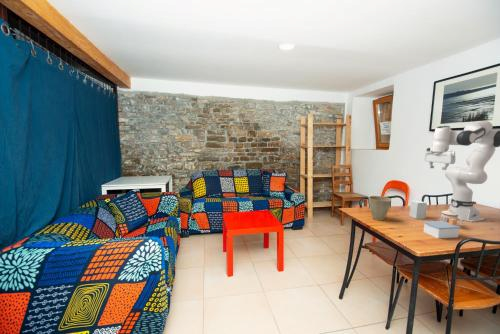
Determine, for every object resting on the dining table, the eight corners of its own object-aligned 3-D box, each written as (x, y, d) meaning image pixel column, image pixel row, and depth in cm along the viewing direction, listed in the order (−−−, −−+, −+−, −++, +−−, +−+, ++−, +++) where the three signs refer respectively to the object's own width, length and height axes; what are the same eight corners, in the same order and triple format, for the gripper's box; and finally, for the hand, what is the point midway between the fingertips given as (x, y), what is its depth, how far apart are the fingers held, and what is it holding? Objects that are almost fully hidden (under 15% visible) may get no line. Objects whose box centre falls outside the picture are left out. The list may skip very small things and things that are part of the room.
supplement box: (425, 219, 173) (427, 202, 171) (415, 218, 173) (417, 202, 171) (418, 215, 180) (419, 200, 179) (409, 215, 180) (410, 200, 179)
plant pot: (364, 214, 181) (366, 195, 179) (385, 216, 178) (386, 196, 176) (370, 221, 166) (372, 200, 165) (393, 223, 163) (394, 201, 162)
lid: (445, 223, 150) (446, 216, 150) (463, 229, 140) (464, 222, 139) (423, 224, 148) (424, 217, 147) (438, 230, 137) (439, 223, 137)
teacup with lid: (436, 224, 162) (438, 208, 161) (443, 222, 166) (445, 206, 165) (457, 230, 151) (460, 213, 150) (464, 228, 155) (466, 211, 154)
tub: (442, 230, 150) (443, 222, 149) (458, 237, 140) (459, 228, 139) (423, 231, 148) (424, 222, 148) (438, 238, 138) (439, 228, 138)
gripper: (459, 150, 148) (456, 171, 149) (431, 148, 168) (429, 167, 169) (451, 149, 147) (448, 171, 149) (423, 148, 167) (421, 167, 169)
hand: (437, 169), depth 159 cm, fingers open, 8 cm apart
